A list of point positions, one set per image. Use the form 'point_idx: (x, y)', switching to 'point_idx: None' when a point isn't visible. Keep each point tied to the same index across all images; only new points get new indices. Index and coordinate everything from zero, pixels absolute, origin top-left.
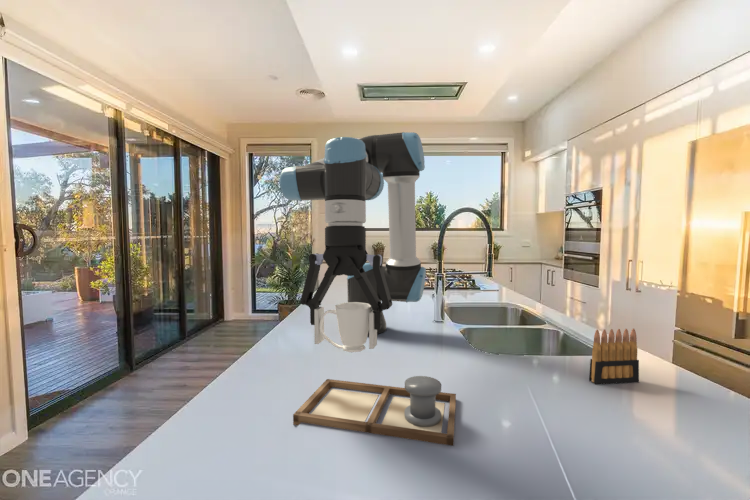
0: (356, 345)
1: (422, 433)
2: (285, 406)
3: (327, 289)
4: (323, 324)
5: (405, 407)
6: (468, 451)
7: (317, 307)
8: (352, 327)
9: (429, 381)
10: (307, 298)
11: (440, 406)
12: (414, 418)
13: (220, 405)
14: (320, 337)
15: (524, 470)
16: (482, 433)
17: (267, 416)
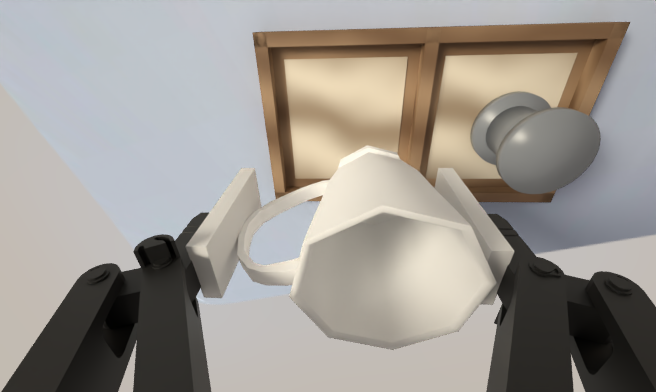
0: (390, 218)
1: (500, 201)
2: (228, 144)
3: (193, 353)
4: (238, 202)
5: (474, 101)
6: (563, 190)
7: (194, 276)
8: (389, 276)
9: (570, 140)
10: (135, 336)
11: (560, 73)
12: (492, 157)
13: (121, 171)
14: (255, 204)
15: (630, 209)
16: (613, 138)
17: (224, 181)
